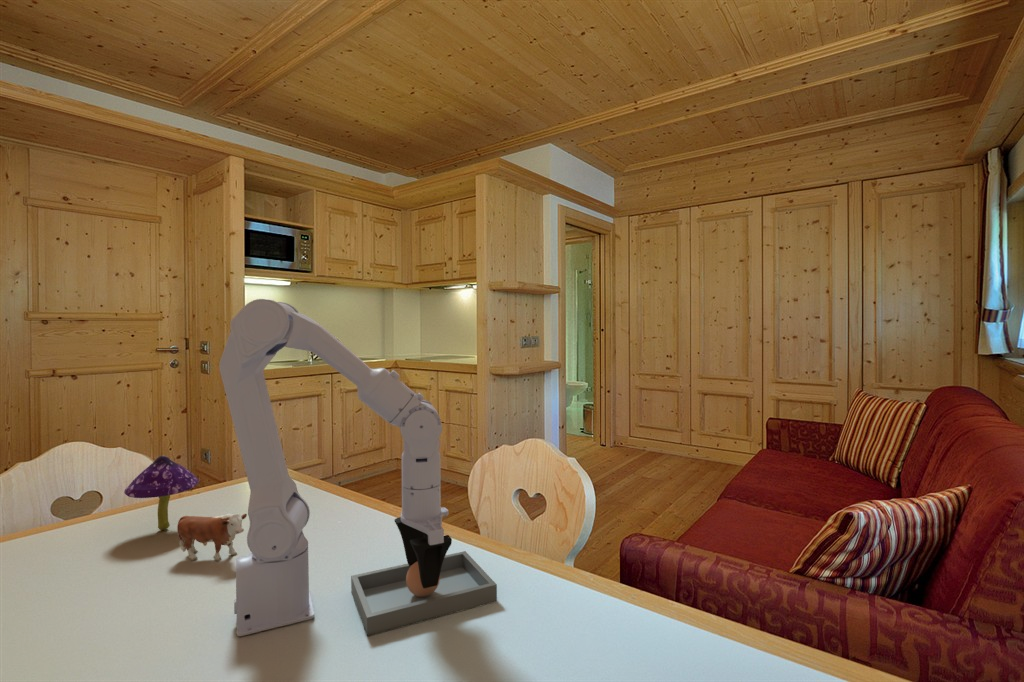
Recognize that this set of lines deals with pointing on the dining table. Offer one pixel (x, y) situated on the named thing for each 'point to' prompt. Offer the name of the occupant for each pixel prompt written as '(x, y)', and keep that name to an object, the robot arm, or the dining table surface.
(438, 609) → the walled pen
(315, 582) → the dining table surface
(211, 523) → the bull figurine
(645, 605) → the dining table surface
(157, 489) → the decorative mushroom
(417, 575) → the ball
